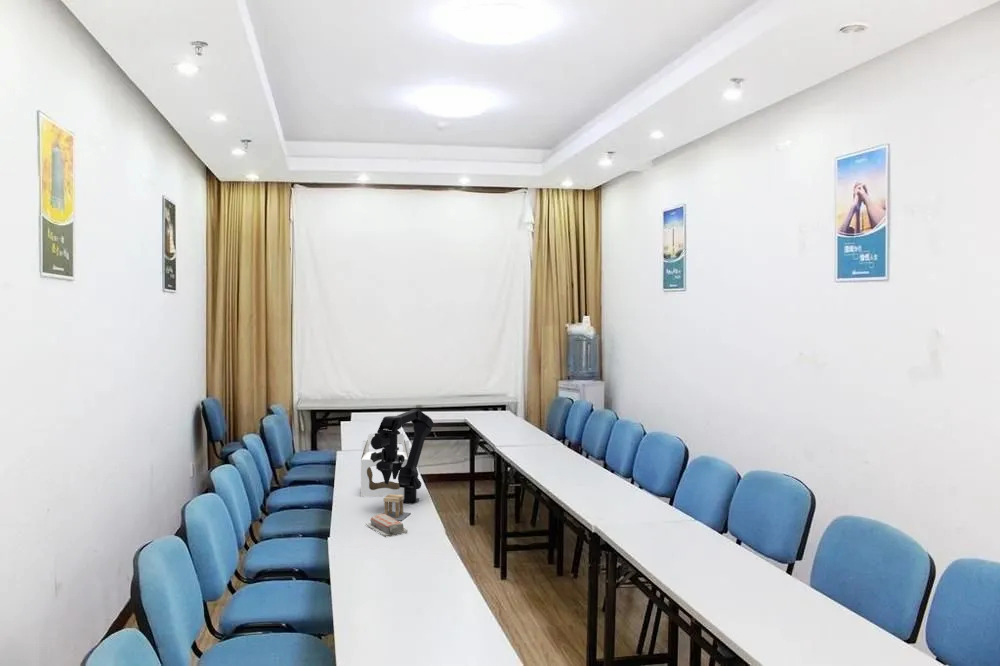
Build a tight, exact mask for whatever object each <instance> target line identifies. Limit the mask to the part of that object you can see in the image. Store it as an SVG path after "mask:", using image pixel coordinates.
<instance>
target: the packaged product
mask: <svg viewBox="0 0 1000 666" xmlns="http://www.w3.org/2000/svg"><path fill="white" fill-rule="evenodd" d="M366 525H367V526H369V527H370V529H371V528H372V529H374V530H375V531H374V530H373V531H374V532H376V531H377V532H379V533H380V534H379V533H378V534H379V535H381V534H382V535H381V536H382V537H384V536H385V538H387V537H386V536H389V537H393V536H392V535H395V536H398V535H397V534H400V535H402V534H401V533H405V534H408V529H407V528H406V527H405V528H404V524H403V522H402V521H397V520H396V519H394V518H392V517H390V516H388V515H386V514H383V513H379V514H376V515H374V516H372V517H371V518H370V522H368V523H365V526H366ZM367 526H366V527H367ZM369 527H368V528H369ZM372 529H371V530H372ZM377 532H376V533H377Z"/></svg>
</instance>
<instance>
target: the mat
mask: <svg viewBox="0 0 1000 666" xmlns="http://www.w3.org/2000/svg"><path fill="white" fill-rule="evenodd" d="M382 514H384V512H383V513H382ZM408 515H409V516H410V515H411V512H406V511H405V512H404V511H403V514H402V515H399V518H395V510H394V511H393V510H392V514H389V510H388V516H390V517H392V518H394V519H396V520H397V521H399V522H403V521H404V520H405V519H407V518H408V517H409V516H408ZM407 516H408V517H407ZM404 518H405V519H404ZM403 519H404V520H403ZM402 520H403V521H402Z"/></svg>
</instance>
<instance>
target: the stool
mask: <svg viewBox="0 0 1000 666" xmlns="http://www.w3.org/2000/svg"><path fill="white" fill-rule="evenodd" d="M403 499H404V495H396V494H389V495H387V496H386V497H383V502H384V503H383V504H384V509H383V510H384V512H383V513H384V514H386V515H388V511H389V514H392V511H393V503H395V504H394V505H395V506H394V507H395V508H394V509H395V510H394V512H395V518H399V515H402V514H403V512H404V502H403Z"/></svg>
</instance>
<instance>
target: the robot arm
mask: <svg viewBox="0 0 1000 666" xmlns="http://www.w3.org/2000/svg"><path fill="white" fill-rule="evenodd" d="M407 423H411V424H412V425H413V428H412V429H413V432H414V436H413V438H412V444H411V446H410V452H409V456H408V460H407V463H406V465H405V466H404V467H401V466H402V464H403V462H404V456H403V455H397V452H398V451H399V450H400V447H398V444H397V435H398V434H401V431H399V430H400V429H402V426H403V425H405V424H407ZM433 426H434V421H433V419H432V418H431V417H430V416H429V415H427V414H426V413H425V412H423V411H422V410H420V409H414V408H412V409H410V410H409V411H406V412H402V413H400V414H397V415H387V416H384V417H383V418H382V420H381V422H380V425H379V427H378V429H377V432H375V433H374V434H375V436H374V437H373V438H372V440H371V444H370V446H371V447H372V449H374V450H375V451H373V452H374V453H371V458H370V459H371V460H372V461H373V462H376V461H378V460H381V461H380V462H378V463H377V464H376V466H375V469H376V470H378V471H379V472H380V473H381V475H382V478H383V480H384V481H385V484H388V483H389V481H391V480H390V479H391V477H392V479H393V480H396V479H397V483H399V486H400V488H401V487H402V488H404V499H403V503H405V504H406V503H407V504H415V503H417V502H418V501H419V500H420V498H418V496H417V490H419V489H421V488H422V481H421V480H420V479H419V470H418V464H419V461H420V457H421V454H422V451H423V447H424V444H425V443H424V442H425V440H426V437H427V436H429V434H430V433H431V432H432V429H433ZM377 450H381V451H377ZM376 452H378V453H376ZM400 461H401V462H400ZM416 501H417V502H416Z"/></svg>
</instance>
